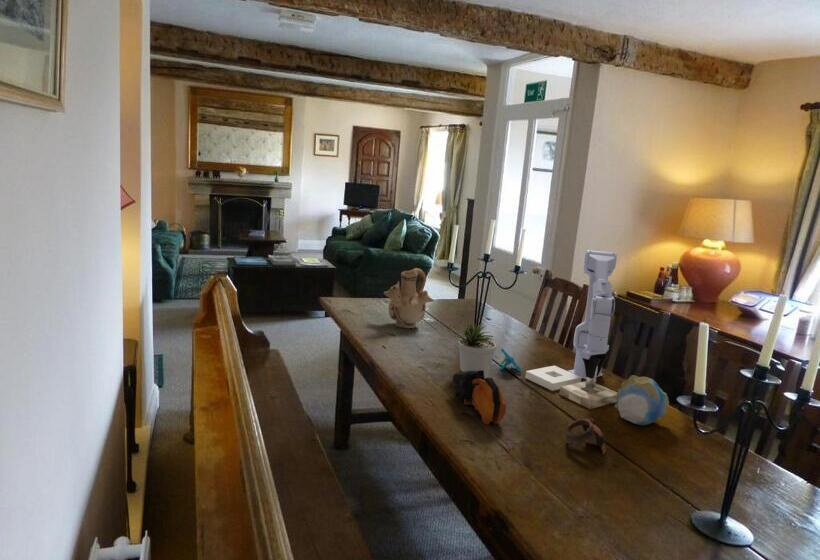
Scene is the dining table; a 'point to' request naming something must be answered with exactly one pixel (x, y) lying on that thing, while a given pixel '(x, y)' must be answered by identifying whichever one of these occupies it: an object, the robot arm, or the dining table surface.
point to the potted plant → (475, 350)
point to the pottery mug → (585, 433)
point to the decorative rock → (641, 400)
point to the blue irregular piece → (508, 361)
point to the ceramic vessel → (408, 299)
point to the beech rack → (588, 394)
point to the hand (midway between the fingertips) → (592, 376)
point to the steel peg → (591, 381)
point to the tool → (480, 394)
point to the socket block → (552, 377)
